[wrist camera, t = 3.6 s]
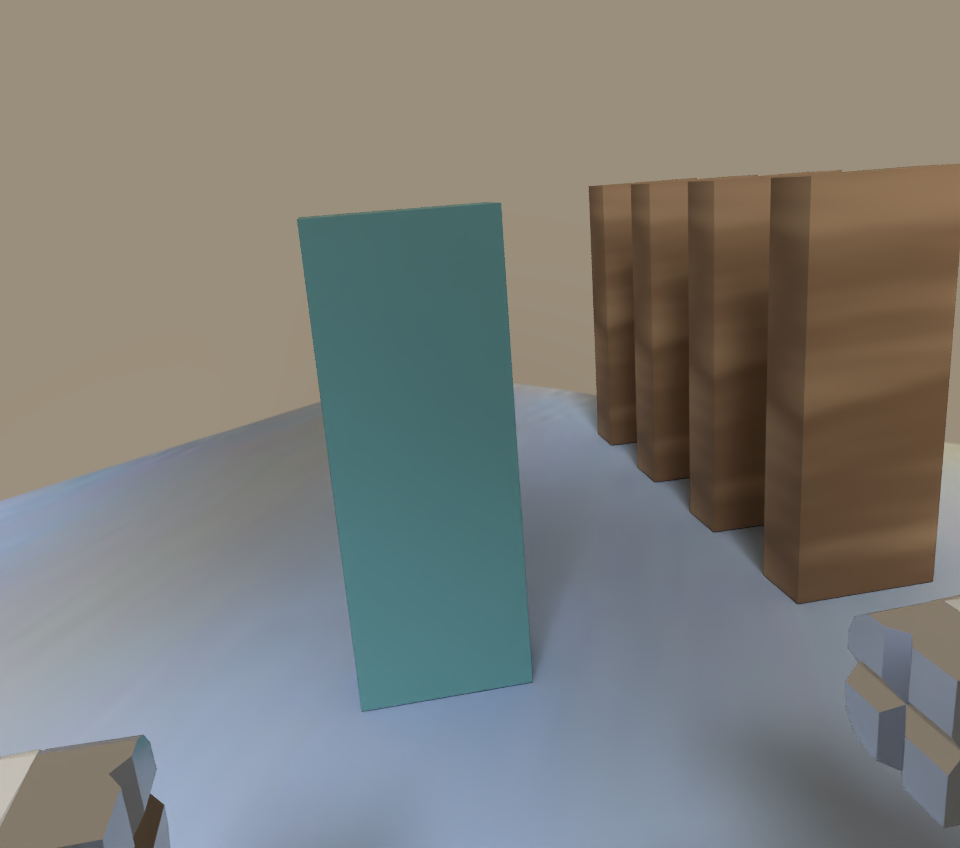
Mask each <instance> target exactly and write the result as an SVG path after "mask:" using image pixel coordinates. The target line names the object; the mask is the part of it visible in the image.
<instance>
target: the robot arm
mask: <svg viewBox="0 0 960 848" xmlns="http://www.w3.org/2000/svg"><path fill="white" fill-rule="evenodd" d="M848 650H849V651H850V652H851V654H852V655H853V656H854V657H855V659H856V660H857V661H858V664H857V665H856V667H855V668H854V670H853V671H852V673H851V674H850V676H849V677H848V679H847V680H846V710H847V713H848V716H849V719H850V723H851V726H852V729H853V731H854V733H855V734H856V736H857V738H858V739H859V741H860V743H861V744H862V746H863V747H864V748H865V749H866V750H867V751H868V752H869V753H870V754H871V756H872V757H873V758H874V759H875V760H876V761H879V762H881V763H883V764H886V765H888V766H890V767H893V768H895V769H898V770H900V771H901V774H902V787H903V788H904V789H905V790H906V791H907V792H908V793H909V794H910V795H911V796H912V797H913V798H914V799H915V800H916V801H917V802H918V803H919V804H920V805H921V806H922V807H923V808H924V809H925V810H926V811H927V812H928V813H929V814H930V815H931V816H932V817H933V818H934V819H935V820H936V821H937V822H938V823H939V824H940V825H941V826H942V827H943V828H948V827H953V826H959V825H960V595H958V596H953V597H949V598H944V599H939V600H934V601H931V602H927V603H922V604H916V605H911V606H906V607H901V608H896V609H891V610H885V611H880V612H875V613H870V614H865V615H860V616H855V617H854V619H853V621H852V623H851V626H850V628H849V635H848ZM156 770H157V768H156V764H155V760H154V756H153V752H152V748H151V744H150V742H149V740H148V739H147V738H146V737H145V736H144V735H138V736H131V737H124V738H118V739H111V740H104V741H97V742H91V743H84V744H77V745H70V746H64V747H57V748H50V749H46V750H44V751H42V750H35V751H29V752H24V753H18V754H13V755H7V756H1V757H0V848H170V839H169V828H168V821H167V816H166V811H165V806H164V804H163V803H161V802H160V801H159V800H158V799H156V798H155V797H154V796H153V795H151V794H150V791H151V788H152V784H153V781H154V777H155V773H156Z"/></svg>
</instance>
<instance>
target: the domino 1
mask: <svg viewBox="0 0 960 848" xmlns="http://www.w3.org/2000/svg"><path fill="white" fill-rule="evenodd" d="M297 223H298V230H299V238H300V246H301V254H302V261H303V268H304V276H305V284H306V292H307V299H308V307H309V314H310V321H311V330H312V337H313V345H314V352H315V360H316V368H317V375H318V383H319V390H320V398H321V405H322V413H323V421H324V428H325V436H326V443H327V451H328V459H329V466H330V474H331V481H332V489H333V497H334V504H335V512H336V519H337V527H338V534H339V542H340V550H341V557H342V565H343V572H344V580H345V588H346V595H347V603H348V610H349V618H350V626H351V633H352V641H353V648H354V656H355V664H356V671H357V679H358V686H359V694H360V701H361V709H362V711H368V710H374V709H379V708H385V707H391V706H397V705H403V704H408V703H414V702H420V701H426V700H431V699H437V698H443V697H449V696H455V695H460V694H466V693H472V692H478V691H484V690H489V689H495V688H501V687H507V686H513V685H518V684H524V683H530V682H533V681H532V665H531V650H530V635H529V620H528V605H527V590H526V575H525V559H524V544H523V529H522V514H521V499H520V484H519V468H518V453H517V438H516V423H515V408H514V393H513V378H512V362H511V348H510V333H509V317H508V302H507V287H506V271H505V257H504V242H503V227H502V211H501V203H488V202H483V203H470V204H459V205H446V206H434V207H421V208H410V209H397V210H385V211H372V212H360V213H348V214H335V215H323V216H311V217H299V218H298V219H297Z"/></svg>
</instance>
